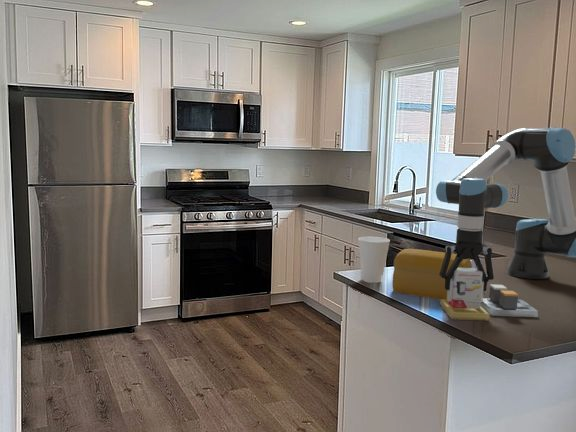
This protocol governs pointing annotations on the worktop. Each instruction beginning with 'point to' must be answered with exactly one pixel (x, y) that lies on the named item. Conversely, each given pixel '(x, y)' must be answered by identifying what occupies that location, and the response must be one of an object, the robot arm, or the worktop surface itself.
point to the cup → (373, 257)
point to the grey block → (508, 299)
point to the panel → (497, 310)
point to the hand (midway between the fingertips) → (464, 300)
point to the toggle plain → (496, 292)
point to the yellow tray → (464, 312)
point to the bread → (422, 273)
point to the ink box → (466, 288)
